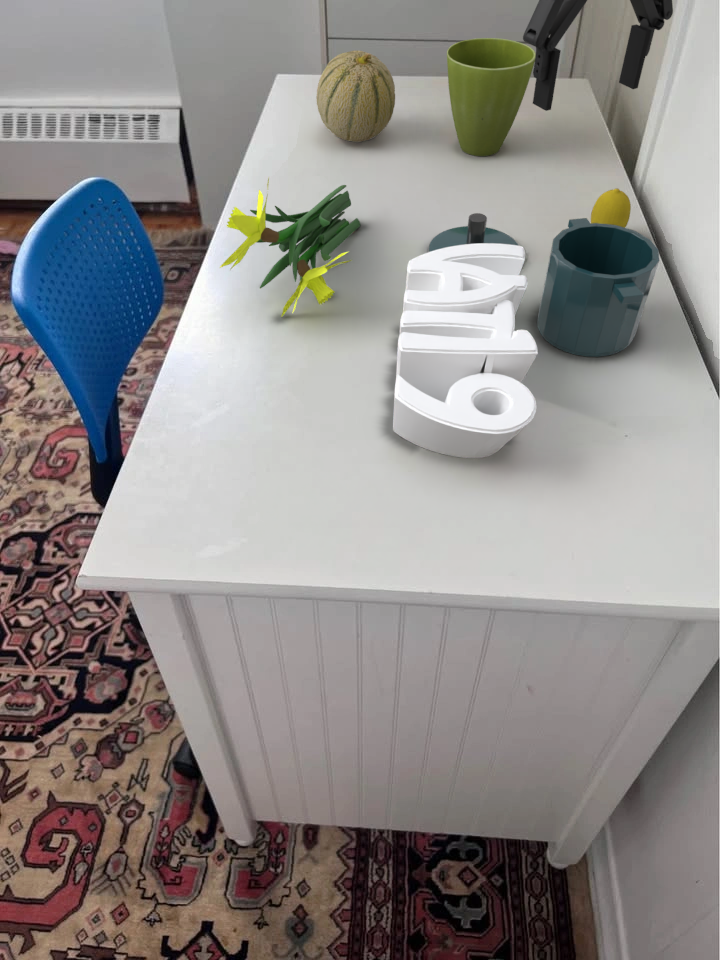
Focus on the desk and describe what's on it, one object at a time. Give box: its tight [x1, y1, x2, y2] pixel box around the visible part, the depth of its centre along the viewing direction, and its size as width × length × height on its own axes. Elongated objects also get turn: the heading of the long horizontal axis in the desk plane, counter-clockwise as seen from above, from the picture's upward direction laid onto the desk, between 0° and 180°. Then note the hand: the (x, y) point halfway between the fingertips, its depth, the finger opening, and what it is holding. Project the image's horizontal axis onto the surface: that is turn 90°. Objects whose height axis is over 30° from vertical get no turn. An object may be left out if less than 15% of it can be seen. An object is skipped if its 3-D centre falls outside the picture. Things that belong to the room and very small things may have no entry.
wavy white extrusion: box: [392, 243, 539, 459], centre depth 86 cm, size 35×16×10 cm, turn 171°
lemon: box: [590, 188, 632, 228], centre depth 108 cm, size 6×6×8 cm
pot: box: [536, 217, 660, 358], centre depth 92 cm, size 13×18×12 cm
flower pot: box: [446, 37, 536, 157], centre depth 127 cm, size 15×15×16 cm
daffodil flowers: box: [219, 177, 361, 318], centre depth 100 cm, size 17×15×35 cm
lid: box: [428, 212, 520, 252], centre depth 106 cm, size 14×14×6 cm
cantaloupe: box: [315, 50, 396, 143], centre depth 131 cm, size 15×15×15 cm
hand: (585, 96), depth 90 cm, fingers open, 13 cm apart
